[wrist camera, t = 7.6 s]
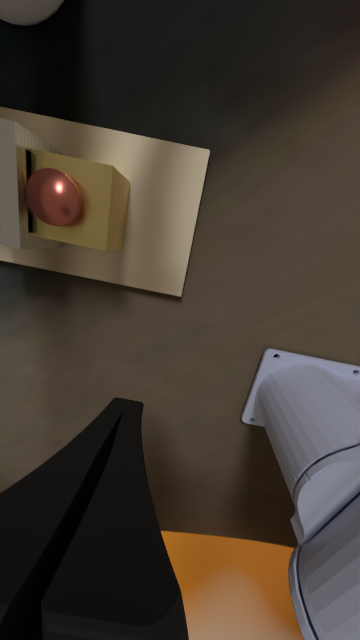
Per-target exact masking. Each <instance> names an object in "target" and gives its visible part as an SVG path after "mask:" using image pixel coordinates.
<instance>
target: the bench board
mask: <svg viewBox="0 0 360 640" xmlns="http://www.w3.org/2000/svg"><path fill="white" fill-rule="evenodd" d="M0 118H2V119H7V120H12V121H15V122H17V123H18V124H20V125H21V126H23V127H24V128H26V129H27V130H29V131H30V132H32V133H33V134H34V135H36V136H37V137H39V138H40V139H42V140H43V141H45V142H46V143H48V144H49V145H51V146H52V147H54V148H55V149H57V150H58V151H59V152H61V153H62V154H64V155H65V156H69V157H74V158H79V159H83V160H88V161H93V162H98V163H102V164H107V165H112V166H114V167H115V168H116V169H117V170H118V171H119V172H120V173H121V174H122V175H123V176H124V177H125V178H126V179H127V180H128V181H129V182H130V192H129V201H128V211H127V220H126V229H125V239H124V248H123V249H121V250H110V251H104V250H99V249H95V248H90V247H85V246H80V245H75V244H70V243H66V242H65V247H60V248H31V249H18V248H13V247H8V246H3V245H0V260H1V261H6V262H11V263H16V264H21V265H26V266H31V267H36V268H41V269H46V270H51V271H56V272H61V273H66V274H71V275H76V276H81V277H86V278H91V279H96V280H101V281H105V282H110V283H115V284H120V285H125V286H130V287H135V288H140V289H145V290H150V291H155V292H160V293H165V294H170V295H175V296H180V297H181V295H182V290H183V285H184V280H185V275H186V270H187V265H188V260H189V255H190V250H191V245H192V240H193V235H194V230H195V225H196V220H197V214H198V209H199V204H200V199H201V194H202V189H203V184H204V179H205V174H206V169H207V164H208V159H209V154H210V150H207V149H202V148H197V147H192V146H188V145H183V144H178V143H173V142H168V141H163V140H159V139H154V138H149V137H144V136H139V135H135V134H130V133H125V132H120V131H115V130H110V129H106V128H101V127H96V126H91V125H86V124H82V123H77V122H72V121H67V120H62V119H57V118H53V117H48V116H43V115H38V114H33V113H29V112H24V111H19V110H14V109H9V108H4V107H0ZM26 172H28V173H32V169H31V164H28V163H26ZM28 228H33V218H31V217H28Z"/></svg>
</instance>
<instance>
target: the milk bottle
mask: <svg viewBox="0 0 360 640" xmlns="http://www.w3.org/2000/svg"><path fill="white" fill-rule="evenodd" d="M64 1H65V0H0V19H1V20H3V21H6V22H9V23H11V24H14V25H22V26H29V25H35V24H39V23H40V22H42V21H44V20H47V19H48V18H49V17H50V16H52V15H53V14H54V13H55V12H56V11H57V10H58V9H59V7H60V6H61V4H62V3H63V2H64Z"/></svg>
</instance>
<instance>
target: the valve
mask: <svg viewBox="0 0 360 640" xmlns="http://www.w3.org/2000/svg"><path fill="white" fill-rule="evenodd" d="M31 169H32V173H28V172H26V177H27V209H28V217H31V218H33V236H37V237H41V238H46V239H51V240H56V241H61V242H66V243H70V244H75V245H80V246H85V247H90V248H95V249H99V250H104V251H110V250H121V249H123V248H124V239H125V229H126V220H127V211H128V201H129V192H130V182H129V181H128V180H127V179H126V178H125V177H124V176H123V175H122V174H121V173H120V172H119V171H118V170H117V169H116V168H115V167H114V166H112V165H107V164H102V163H98V162H93V161H88V160H83V159H79V158H74V157H69V156H64V155H60V154H55V153H50V152H45V151H41V150H36V149H31Z"/></svg>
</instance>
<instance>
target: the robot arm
mask: <svg viewBox="0 0 360 640" xmlns="http://www.w3.org/2000/svg"><path fill="white" fill-rule="evenodd" d="M275 354H278V356H277V357H273V356H274V355H275ZM355 370H356V372H354V371H355ZM353 372H354V373H353ZM143 406H144V404H143V403H142V402H138V401H133V400H128V399H122V398H117V397H116V398H114V399H113V400H112V401H111V402H110V403H109V404H108V406H107V407H106V408H105V409H104V410H103V411H102V412H101V413H100V414H99V415H98V416H97V417H96V418H95V419H94V420H93V421H92V422H91V423H90V424H89V425H88V426H87V427H86V428H85V429H84V430H83V431H82V432H81V433H80V434H78V435H77V436H76V437H75V438H74V439H73V440H72V441H70V442H69V443H68V444H67V445H66V446H65V447H63V448H62V449H61V450H60V451H59V452H57V453H56V454H55V455H54V456H52V457H51V458H50V459H48V460H47V461H46V462H44V463H43V464H42V465H41V466H39V467H38V468H36V469H35V470H34V471H32V472H31V473H29V474H28V475H26V476H25V477H24V478H22V479H21V480H19V481H18V482H16V483H15V484H13V485H12V486H10V487H9V488H7V489H6V490H4V491H3V492H1V493H0V640H189V638H188V630H187V623H186V617H185V612H184V606H183V601H182V595H181V590H180V587H179V584H178V581H177V579H176V576H175V573H174V571H173V568H172V565H171V562H170V559H169V557H168V553H167V550H166V547H165V544H164V541H163V538H162V535H161V531H160V528H159V524H158V521H157V517H156V513H155V510H154V506H153V502H152V498H151V494H150V489H149V485H148V480H147V475H146V469H145V463H144V455H143V446H142V433H141V418H142V412H143ZM241 418H242V421H243V422H244V423H247V424H252V425H257V426H262V427H265V430H266V432H267V435H268V438H269V440H270V443H271V445H272V448H273V451H274V453H275V456H276V458H277V461H278V464H279V466H280V469H281V471H282V474H283V477H284V479H285V482H286V484H287V487H288V490H289V492H290V495H291V497H292V500H293V503H294V505H295V514H294V516H293V517H292V518H291V520H290V521H291V524H292V526H293V529H294V532H295V535H296V538H297V541H298V544H299V545H298V546H297V547H296V548H295V549H294V551H293V552H292V555H291V558H290V562H289V569H288V572H289V573H288V574H289V588H290V595H291V599H292V603H293V608H294V612H295V615H296V618H297V621H298V625H299V628H300V630H301V633H302V635H303V638H304V640H360V366H355V365H350V364H345V363H340V362H335V361H330V360H325V359H320V358H315V357H310V356H305V355H300V354H295V353H290V352H285V351H280V350H275V349H267V350H265V352H264V354H263V356H262V359H261V362H260V365H259V368H258V371H257V373H256V376H255V379H254V382H253V385H252V387H251V390H250V393H249V396H248V399H247V402H246V404H245V407H244V410H243V413H242V416H241ZM251 418H254V419H252V420H250V419H251Z"/></svg>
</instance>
